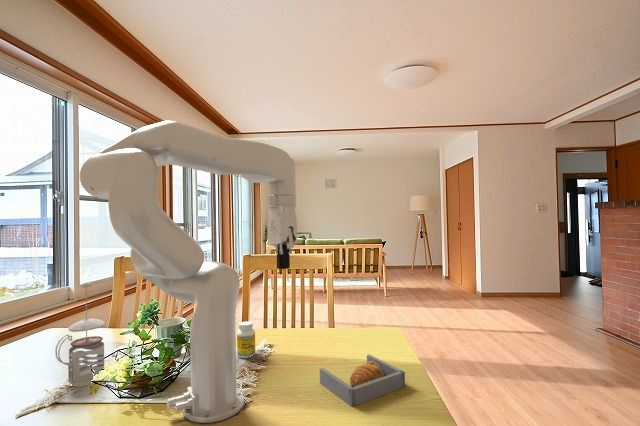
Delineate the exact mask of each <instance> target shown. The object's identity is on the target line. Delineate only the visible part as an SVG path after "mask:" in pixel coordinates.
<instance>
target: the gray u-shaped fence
mask: <svg viewBox="0 0 640 426" xmlns="http://www.w3.org/2000/svg"><path fill="white" fill-rule="evenodd" d="M371 361H373V362H376V363H377V364H379V365H380V368H381V369H382V371H383V373H384V377H381V378H378V379H375V380H372V381H370V382H367V383H364V384H361V385H358V386H352V385H351V384H350V385H349V384H348V383H346V382H345V381H343V380H342V379H341V378H339V377H337V375H334V374H333V373H331V372H330V371H329V370H327V369H326V368H324V367H322V368H319V383H320V385H322V386H323V387H325V388H326V389H327V390H329V392H331V393H333V394H334V395H335V396H337V397H338V398H340V399H341V400H342V401H344V402H345V403H346V404H347V405H349V406H350V407H355V406H358V405H360V404H363V403H365V402H367V401H371V400H373V399H376V398H379V397H381V396H384V395H386V394H389V393H392V392H394V391H398V390H401V389H403V388H405V387H406V373H405V371H404V370H402V369H400V368H398V367H395V366H393V365H391V364H389V363H387V362H385V361H383V360H382V359H380V358H378V357H376V356H374V355H371V354H368V355H366V362H371Z"/></svg>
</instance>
